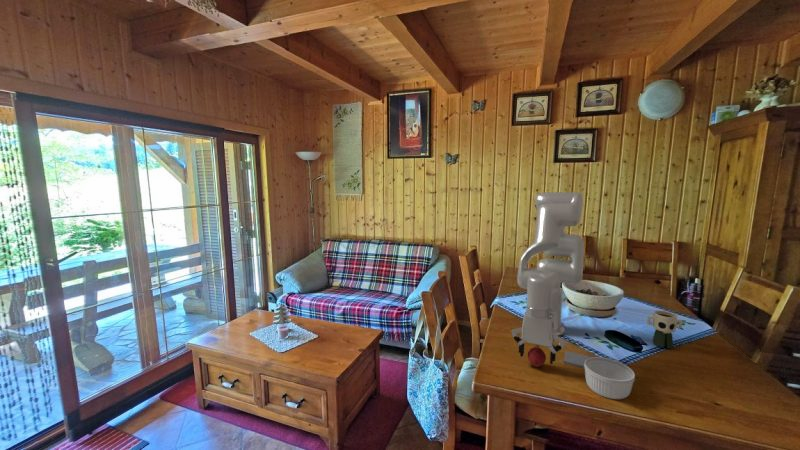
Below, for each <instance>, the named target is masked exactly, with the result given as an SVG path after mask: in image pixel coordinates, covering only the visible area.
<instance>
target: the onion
mask: <svg viewBox="0 0 800 450" xmlns="http://www.w3.org/2000/svg"><path fill="white" fill-rule="evenodd" d="M539 346H540V345H537V344H535V346H534V347H532V348H530V349H529V351H528V352H527V353H528V354H527V358H528V361H529V362H530V364H531V365H532V366H534V367H536V368H537V367H542V366H543V365H544V364H545V363H546V360H547V356H546V354H545V351H544V350H543V349H542V348H541V347H539Z"/></svg>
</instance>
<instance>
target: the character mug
mask: <svg viewBox="0 0 800 450" xmlns="http://www.w3.org/2000/svg"><path fill="white" fill-rule="evenodd" d="M651 320H652V322H651ZM646 323H647V325H648V326H649V325H651V326H652V327H653V328H654V334H653V336H652V343H653V344H654V345H656V346H657V347H661V348H663V349H664V348H665V347H666V349H672V348H674V339H673V333H675V332H676V331H677V329H682V328H683V320H682V319H678V315H677V314H676V313H673V312H670V311H667V310H660V309H658V310H653V316H647V321H646Z"/></svg>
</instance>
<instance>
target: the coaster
mask: <svg viewBox="0 0 800 450" xmlns="http://www.w3.org/2000/svg"><path fill="white" fill-rule="evenodd" d="M588 358H591V356H589V355H585V354H582V353H581V354H580V353H575V352H572V351H567V350H566V351H565V352H564V358H563V364H566V365H569V366H573V367H578V368H582V369H585V368H584V362H585V360H586V359H588Z"/></svg>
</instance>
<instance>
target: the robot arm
mask: <svg viewBox="0 0 800 450" xmlns="http://www.w3.org/2000/svg"><path fill="white" fill-rule="evenodd" d="M534 202H535V206H536V209H537V214H536V223H535V231H534V241H533V243H531V244H530V245H529V246H528V247H526V249H525V250H524V251H523V253H522V255H521V256H520V258H519V262H518V269H517V277H516V278H517V279H516V282H517V284H518V286H519V287H520V288H521V289H524V290H526V291H527V292H526V311H524V313H523V314H524V315H523V319H522V324H521V325H522V326H521V327H518V328H514V329H512V330H511V335H512V338H513V339H514V340H515V342H516V343H517V346H518V353H519V356H520V357H523V356H524V354H525V343H529V344H531V345H532V344H533V345H539V346H543V347H547V348H549V350H550V355H549V357H550V358H549V364H550V365H553V364H554V363H553V362H556V354H557V353H558V352H559V351H561V350H562V349H563V347H564V346H565V345H566V340H565V339H563V338H562V337H560V336H561V335H564V334H565V330H566V329H565V327H564V326H562V307H563V305H562V304H563V290H562V288H561V284H562V283H563V284H573V285H578V284H580V283H581V282H582V280H583V276H584V274H583V272H584V257H585V244H584V239H583V237H582V236H581V235H579V234H571V233H570V234H569V233H565V227H576V226H578V225H579V223H580V220H581V216H582V213H583V206H584V199H583V196H582V194H581V193H579V192H574V191H571V192H570V191H569V192H564V191H561V192H560V191H559V192H558V191H557V192H556V191H555V192H553V191H551V192H541V193H538V194H537V195H535V199H534ZM540 253H543V254H544V255H548V256H552V257H563V258H569V259H568V260H567V259H560V258H559V259H558V258H541V259H540V260H539V261H538V262H537V264H536V269H535V268H534V269H533V268H532V269H531V268H528V265H529V264H528V263H529V261H530V260H531V259H532V258H533V257H535V256H536V255H539V254H540ZM519 333H521V336H519V335H518V334H519ZM554 341H556V342H558V344H557V345H555V344H554Z"/></svg>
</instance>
